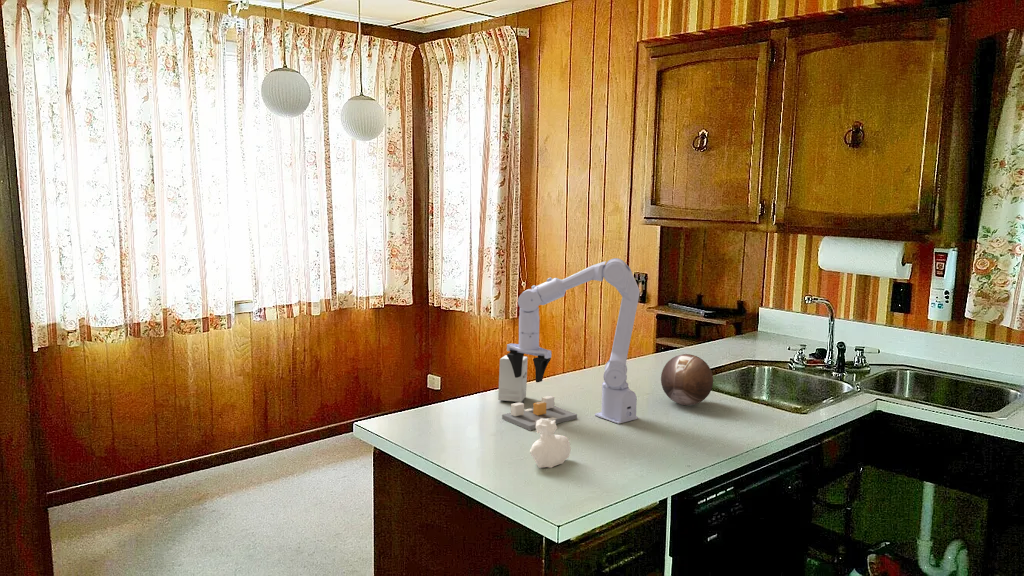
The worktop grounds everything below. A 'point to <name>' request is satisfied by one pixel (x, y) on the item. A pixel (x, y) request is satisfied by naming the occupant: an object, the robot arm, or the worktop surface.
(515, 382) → the supplement box
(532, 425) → the breaker panel
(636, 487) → the worktop surface
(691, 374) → the brown metallic sphere
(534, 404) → the breaker
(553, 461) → the bust
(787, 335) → the worktop surface
